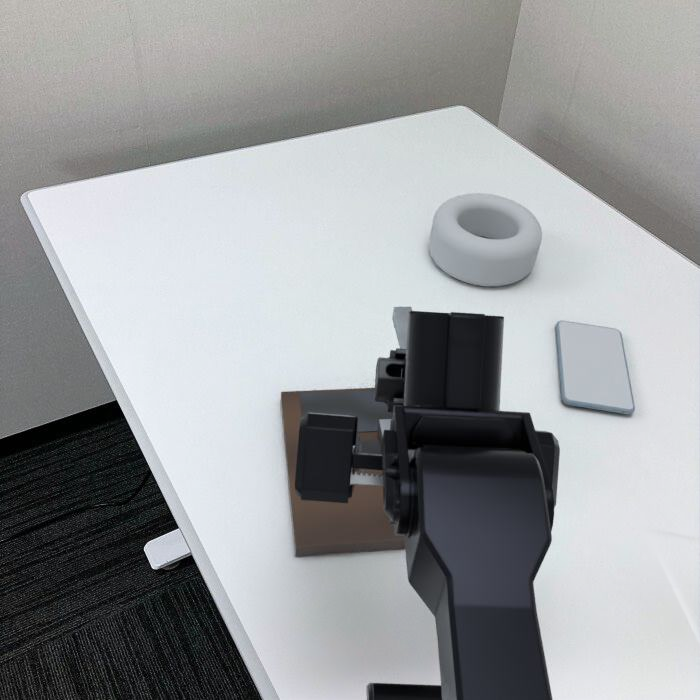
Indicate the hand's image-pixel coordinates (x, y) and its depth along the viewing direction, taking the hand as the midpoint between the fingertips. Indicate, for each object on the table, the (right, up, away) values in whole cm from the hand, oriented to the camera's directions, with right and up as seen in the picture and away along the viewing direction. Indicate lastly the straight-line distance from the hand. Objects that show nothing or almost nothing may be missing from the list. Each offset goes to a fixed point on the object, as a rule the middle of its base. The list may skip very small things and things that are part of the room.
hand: (413, 453), depth 65 cm
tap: (0, 0, +18) cm, 18 cm away
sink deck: (-2, -4, +16) cm, 17 cm away
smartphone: (+24, +6, +30) cm, 39 cm away
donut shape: (+13, +22, +45) cm, 52 cm away
